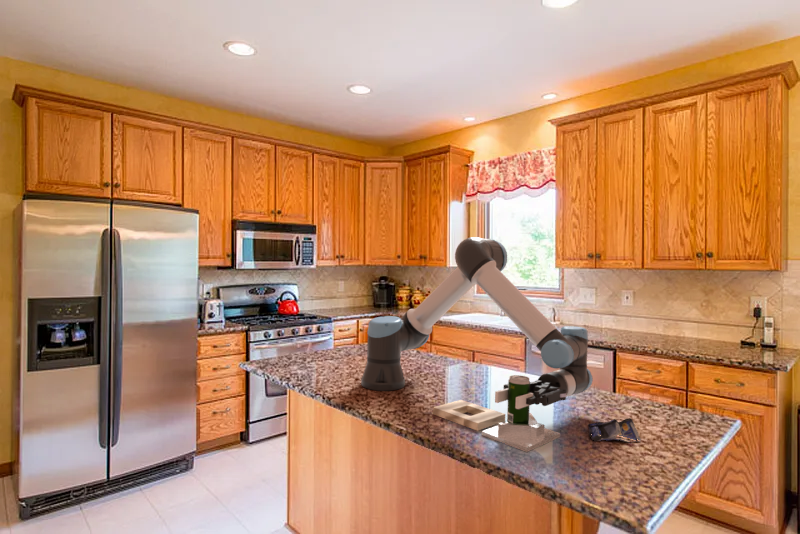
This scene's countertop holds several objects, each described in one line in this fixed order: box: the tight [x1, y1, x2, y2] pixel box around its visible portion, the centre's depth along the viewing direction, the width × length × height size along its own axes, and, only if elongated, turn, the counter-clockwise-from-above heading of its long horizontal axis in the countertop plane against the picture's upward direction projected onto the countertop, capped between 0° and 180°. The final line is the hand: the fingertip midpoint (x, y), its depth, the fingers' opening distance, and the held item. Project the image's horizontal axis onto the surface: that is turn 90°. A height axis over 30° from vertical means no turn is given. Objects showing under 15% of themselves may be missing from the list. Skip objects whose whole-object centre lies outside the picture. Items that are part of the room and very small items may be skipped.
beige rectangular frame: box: [432, 399, 506, 432], centre depth 128 cm, size 16×12×2 cm
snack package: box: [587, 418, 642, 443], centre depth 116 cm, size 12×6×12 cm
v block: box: [481, 412, 561, 453], centre depth 115 cm, size 13×15×4 cm
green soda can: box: [506, 374, 531, 424], centre depth 116 cm, size 5×5×12 cm
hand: (506, 400), depth 112 cm, fingers closed on green soda can, 5 cm apart
